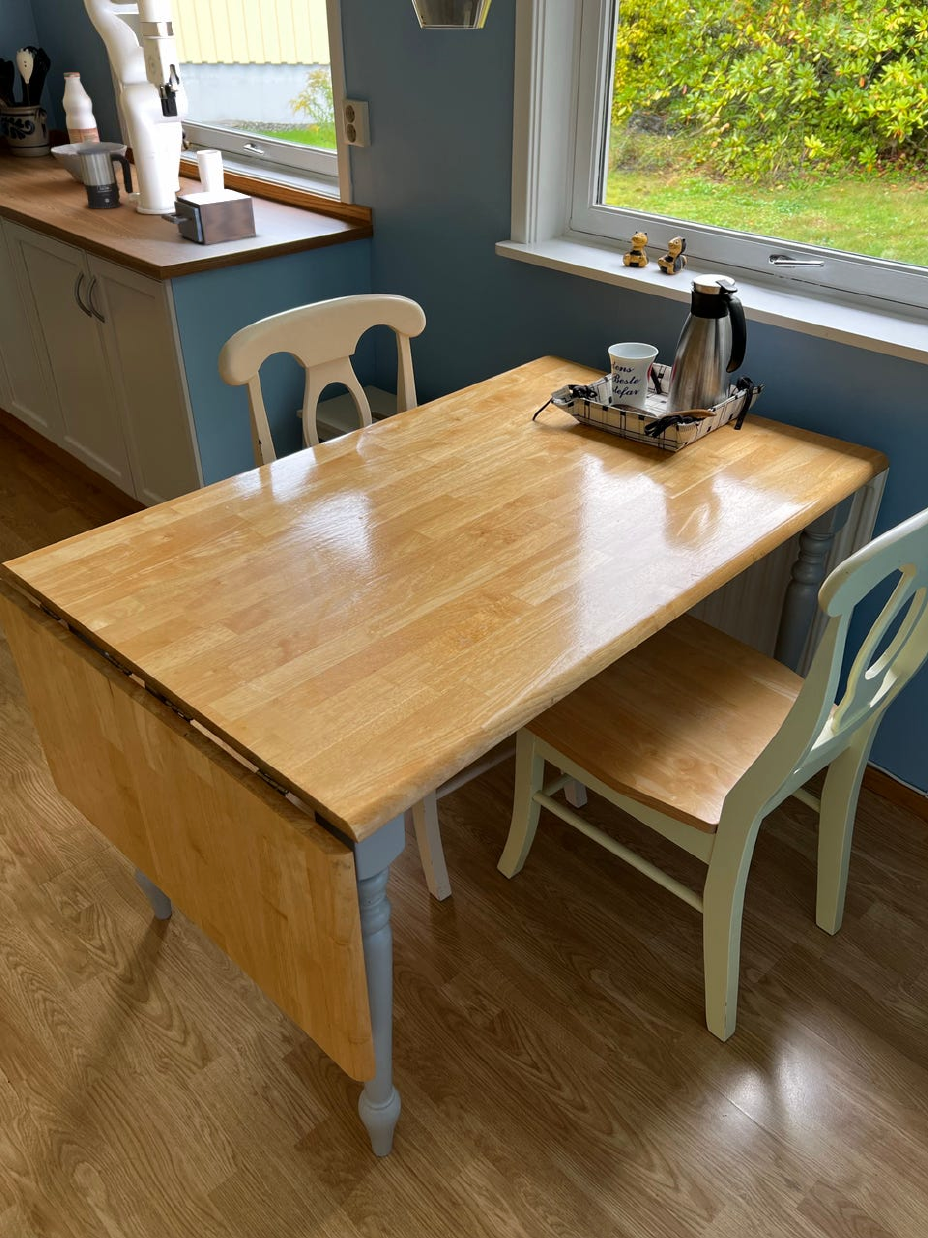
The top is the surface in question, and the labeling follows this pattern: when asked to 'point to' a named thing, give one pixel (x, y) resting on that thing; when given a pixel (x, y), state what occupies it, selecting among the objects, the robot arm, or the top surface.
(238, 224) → the cabinet
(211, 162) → the white cylinder
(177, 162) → the vase
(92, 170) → the milk frother
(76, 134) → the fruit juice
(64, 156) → the ceramic bowl
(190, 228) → the drawer
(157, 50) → the robot arm
